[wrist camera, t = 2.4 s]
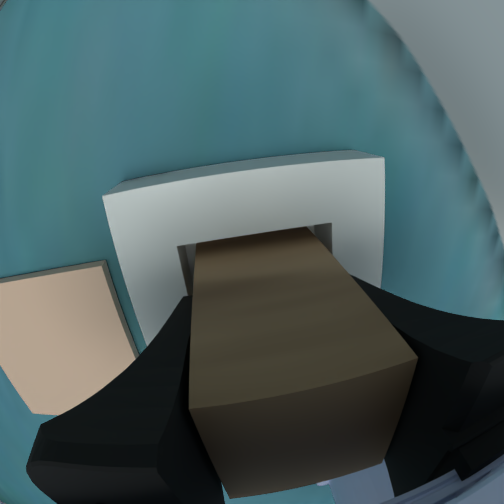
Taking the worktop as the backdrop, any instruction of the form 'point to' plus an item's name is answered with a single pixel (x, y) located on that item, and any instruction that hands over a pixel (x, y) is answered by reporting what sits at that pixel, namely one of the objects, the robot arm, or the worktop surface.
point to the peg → (290, 364)
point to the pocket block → (243, 218)
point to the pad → (62, 335)
